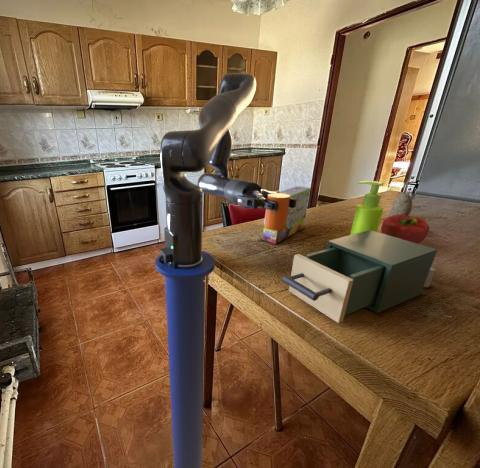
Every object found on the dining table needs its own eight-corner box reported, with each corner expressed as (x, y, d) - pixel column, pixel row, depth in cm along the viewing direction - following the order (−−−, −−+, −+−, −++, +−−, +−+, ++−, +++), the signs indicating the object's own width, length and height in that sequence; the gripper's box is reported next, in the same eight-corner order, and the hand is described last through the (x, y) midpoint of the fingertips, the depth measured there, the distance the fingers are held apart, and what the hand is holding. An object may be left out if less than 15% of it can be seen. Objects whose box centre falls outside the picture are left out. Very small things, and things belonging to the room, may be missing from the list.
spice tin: (274, 232, 64) (278, 198, 61) (259, 226, 68) (263, 194, 65) (290, 228, 65) (295, 196, 62) (275, 222, 70) (278, 192, 67)
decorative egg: (384, 217, 101) (392, 192, 97) (393, 215, 103) (400, 190, 100) (402, 221, 96) (411, 195, 92) (411, 219, 98) (419, 193, 95)
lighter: (429, 287, 57) (442, 254, 54) (421, 287, 57) (433, 254, 54) (403, 271, 64) (413, 241, 61) (396, 271, 64) (405, 241, 61)
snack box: (277, 245, 81) (283, 198, 75) (261, 240, 85) (265, 195, 79) (304, 227, 94) (311, 187, 88) (289, 224, 98) (295, 185, 92)
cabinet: (377, 313, 50) (392, 265, 46) (319, 282, 61) (327, 240, 57) (420, 294, 55) (437, 249, 51) (359, 268, 66) (370, 229, 62)
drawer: (318, 331, 45) (328, 288, 41) (271, 296, 54) (275, 259, 51) (385, 303, 51) (397, 264, 48) (331, 276, 61) (339, 242, 58)
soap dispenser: (347, 243, 80) (363, 178, 73) (374, 250, 75) (393, 181, 68) (339, 248, 77) (354, 181, 70) (366, 256, 72) (386, 184, 65)
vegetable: (429, 256, 70) (442, 221, 67) (382, 250, 75) (392, 218, 71) (414, 241, 80) (424, 210, 76) (373, 237, 84) (381, 207, 80)
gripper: (222, 182, 73) (264, 193, 58) (262, 177, 78) (310, 187, 63) (221, 207, 76) (261, 224, 61) (259, 202, 81) (305, 216, 66)
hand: (285, 205), depth 62 cm, fingers closed on spice tin, 5 cm apart
